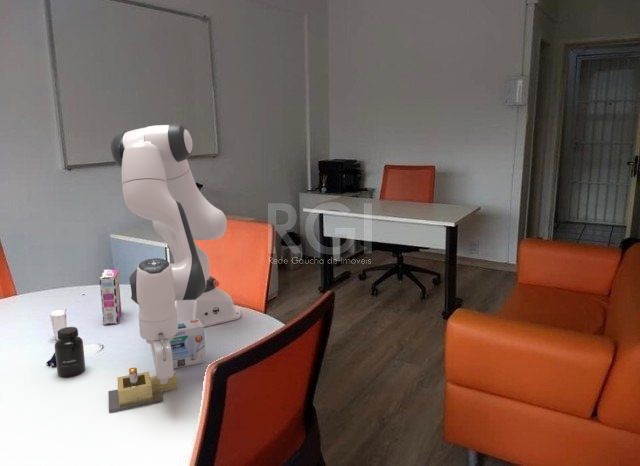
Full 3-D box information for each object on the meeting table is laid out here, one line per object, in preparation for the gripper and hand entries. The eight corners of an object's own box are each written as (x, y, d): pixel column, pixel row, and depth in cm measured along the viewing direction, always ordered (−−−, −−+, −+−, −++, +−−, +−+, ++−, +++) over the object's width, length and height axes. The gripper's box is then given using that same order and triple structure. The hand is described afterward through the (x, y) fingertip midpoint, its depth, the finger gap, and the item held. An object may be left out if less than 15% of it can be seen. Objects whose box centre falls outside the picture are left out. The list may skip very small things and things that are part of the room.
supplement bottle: (67, 380, 130) (62, 337, 127) (52, 373, 133) (47, 331, 131) (91, 369, 135) (86, 328, 133) (76, 363, 139) (71, 323, 136)
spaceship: (42, 370, 135) (41, 351, 135) (49, 364, 141) (49, 346, 141) (71, 367, 136) (71, 349, 136) (77, 362, 143) (77, 344, 143)
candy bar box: (119, 324, 166) (115, 277, 163) (103, 325, 165) (98, 278, 162) (122, 312, 177) (118, 268, 173) (107, 313, 176) (103, 269, 172)
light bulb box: (168, 370, 135) (165, 333, 132) (163, 360, 141) (160, 324, 138) (207, 362, 140) (205, 326, 137) (201, 352, 145) (198, 317, 143)
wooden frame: (175, 379, 128) (174, 366, 127) (179, 393, 122) (178, 380, 121) (118, 390, 123) (117, 377, 122) (119, 405, 116) (118, 391, 116)
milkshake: (64, 342, 153) (60, 311, 150) (49, 340, 154) (45, 310, 152) (74, 336, 157) (71, 306, 155) (59, 334, 158) (56, 305, 156)
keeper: (159, 384, 128) (157, 356, 126) (163, 401, 119) (160, 372, 118) (108, 394, 123) (105, 365, 121) (109, 413, 115) (105, 383, 113)
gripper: (178, 341, 112) (182, 396, 115) (167, 310, 130) (171, 359, 133) (148, 345, 110) (153, 402, 112) (142, 314, 128) (146, 363, 131)
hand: (162, 378), depth 123 cm, fingers closed
